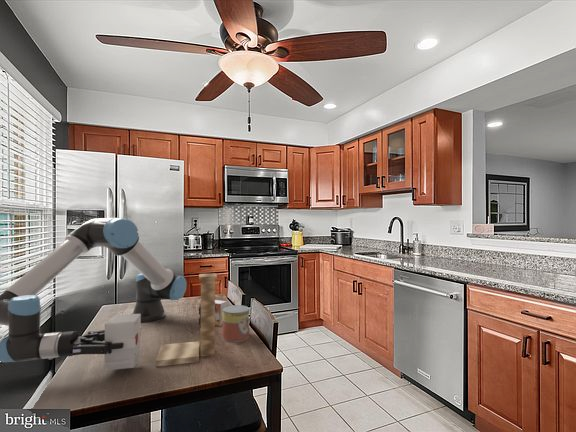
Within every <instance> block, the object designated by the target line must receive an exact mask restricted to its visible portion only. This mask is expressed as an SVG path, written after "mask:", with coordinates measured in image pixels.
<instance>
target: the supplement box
mask: <svg viewBox="0 0 576 432" xmlns="http://www.w3.org/2000/svg"><path fill="white" fill-rule="evenodd" d="M141 324H142V322H141V314H132V313H131V314H130V313H129V314H114V315H113V316H112V317H110V318H109V319H108V320H107V321H106V322H105V323H104V330H105V341H104V342H112V341H115V340H125V339H136V347H135V348H129V349H119V350H112V353H111V354H108V353H107V354H104V359H103V360H104V361H103V363H104V368H103V369H104V371H109V370H112V371H113V370H121V369H123V370H124V369H132V368H133V369H134V368H135V366H136V364H137V363H138V361H139V359H140V358H141V347H142V346H141V343H142V342H141V340H142V339H141V337H142V326H141Z"/></svg>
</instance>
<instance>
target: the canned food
mask: <svg viewBox="0 0 576 432" xmlns="http://www.w3.org/2000/svg"><path fill="white" fill-rule="evenodd" d="M222 310H223V325H222V332H221V333H222V337H221V338H222V340H223V341H225V342H227V343H228V342H229V343H239V342H243V341H246V340H248V339H249V337H250V335H249V333H250V332H249V331H250V325H249V324H250V307H248V306H247V305H240V304H237V305H233V304H232V305H227V307H224V308H223V309H222Z"/></svg>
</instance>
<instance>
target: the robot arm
mask: <svg viewBox="0 0 576 432" xmlns="http://www.w3.org/2000/svg"><path fill="white" fill-rule="evenodd" d="M138 231H139V229H138V227H137V225H136V224H135V223H134V221H132V220H130V219H127V218H123V217H103V218H102V217H96V218H91V219H89V220H87V221H86V222H84V223H81V225H79V226H77V227H76V228H75V229H74V230H72V231H71V232H69V233H68V234H67V235H66V236H65V238H64V241H63V242H62V243H61V244H60V245H58V246H57V247H55V249H53V251H51V252H50V253H49V254H48V255H47V256H45V257H44V258H43V259H42V260H40V261H39V262H38V263H37V264H36V265H34V266H33V267H32V268H31V269H29V270H28V272H26V273H25V274H24V275H23V276H21V277H20V278H19V279H18V280H17V281H15V282H14V283H13V284H12V285H11V286H10V287H8V288H7V289H6V290H5V291H3V292H2V293H1V294H0V325H2V326H3V325H4V326H7V327H8V336H5V337H3V338H2V339H1V340H0V362H1V363H21V362H28V361H37V360H45V359H48V360H49V361H50V360H53V359H54V358H58V357H60V358H66V357H73V356H79V355H105V354H107V353H108V354H111V353H112V350H119V349H129V348H135V347H136V339H125V340H115V341H112V342H105V329H100V330H91V331H87V333H86V334H83V335H79V333H78V331H76V330H74V331H73V330H70V331H63V332H62V331H55V332H46V333H41V310H42V306H41V300H40V299H41V298H40V296H39V295H38V294H39V293H40V292H41V291H42V290H43V289H45V287H47V286H48V285H49V284H50V283H51V282H52V281H53V280H54V279H56V278H57V277H58V275H60V274H61V273H62V272H63V271H65V269H66V268H68V267H70V265H71V264H72V263H73V262H74V261H75V260H76V259H78V258H79V257H80V256H81V255H84V254H87V253H88V252H90V251H91V250H92V249H94V248H97V247H98V248H99V247H101V248H107V249H108V250H109V251H110V252H111V253H112V254H113V255H114V256H118V257H120V256H121V257H123V259H125V260H126V261H127V262H128V263H129V264H130V265H132V267H134V268H135V270H137V271H138V272H139V273H138V274H136V277H135V278H136V280H135V306H134V308H133V311H132V313H131V314H141V323H143V322H144V323H145V322H153V321H158V320H160V319H163V318H164V317H165V310H164V306H163V304H162V300H168V301H169V300H170V301H178V300H181V298H182V297H183V296H185V293H186V291H187V283H188V282H187V279H186V278H185V277H184V276H182V275H177V274H176V273H175V272H174V271H173V270H172V269H170V268H165V267H164V266H163V265H162V264H161V263H160V262H159V260H157V259H156V258H155V257H154V256H153V254H151V252H149V250H148V249H147V248H146V247H145V246H144V245H143V244H141V242H140V236H139V232H138Z"/></svg>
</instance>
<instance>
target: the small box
mask: <svg viewBox="0 0 576 432" xmlns="http://www.w3.org/2000/svg"><path fill="white" fill-rule="evenodd" d="M227 306H228V301H227V300H221V299H219V300H218V299H215V326H218V327H221V326H223V310H222V309H223V308H224V307H227Z"/></svg>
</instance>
